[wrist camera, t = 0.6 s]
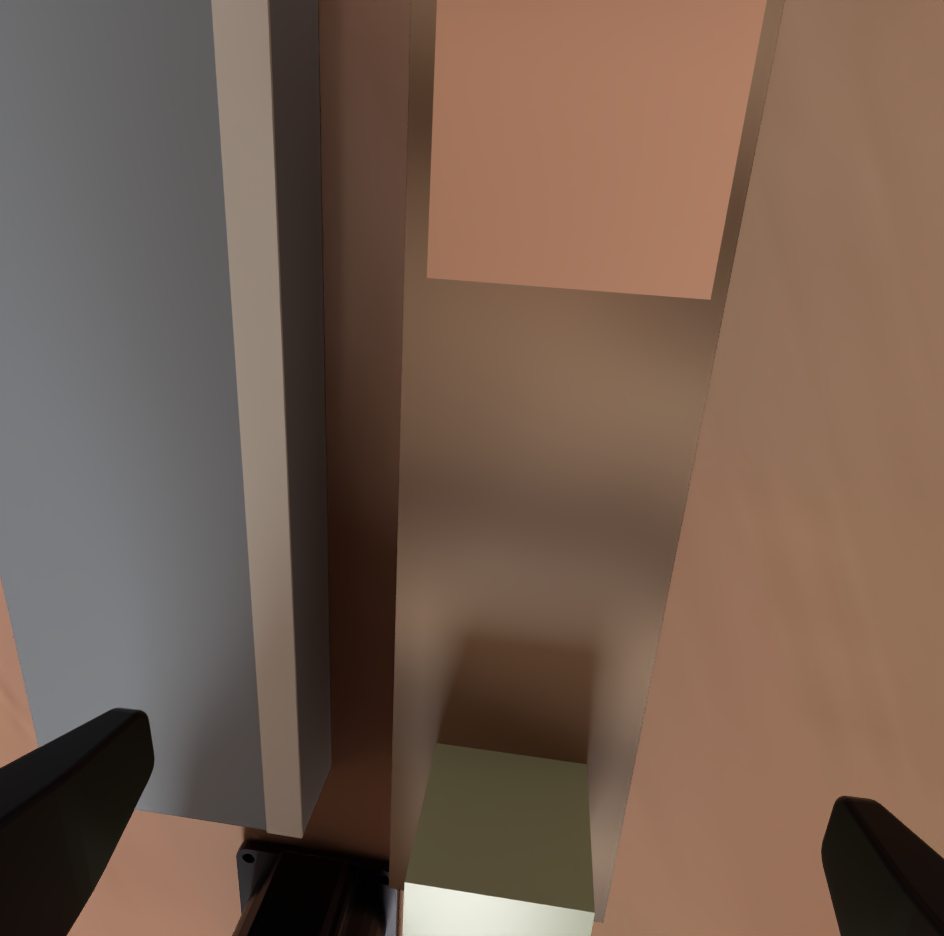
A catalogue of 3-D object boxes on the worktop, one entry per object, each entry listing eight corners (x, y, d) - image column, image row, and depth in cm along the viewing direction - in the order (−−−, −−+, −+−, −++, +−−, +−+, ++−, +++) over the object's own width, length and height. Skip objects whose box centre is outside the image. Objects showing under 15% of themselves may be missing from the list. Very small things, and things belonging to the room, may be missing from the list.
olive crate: (569, 872, 19) (572, 1033, 15) (430, 851, 19) (399, 1003, 15) (586, 764, 17) (595, 913, 14) (436, 743, 18) (404, 882, 14)
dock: (331, 766, 25) (301, 838, 22) (104, 732, 26) (47, 798, 23) (317, -43, 16) (263, -101, 13) (-33, -55, 17) (-157, -112, 14)
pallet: (594, 786, 24) (603, 922, 19) (420, 761, 25) (388, 888, 20) (728, 1, 15) (803, -92, 11) (455, -9, 16) (413, -101, 11)
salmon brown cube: (666, 275, 13) (710, 299, 9) (463, 260, 13) (426, 278, 10) (706, 35, 11) (776, -50, 8) (476, 26, 12) (438, -60, 8)
